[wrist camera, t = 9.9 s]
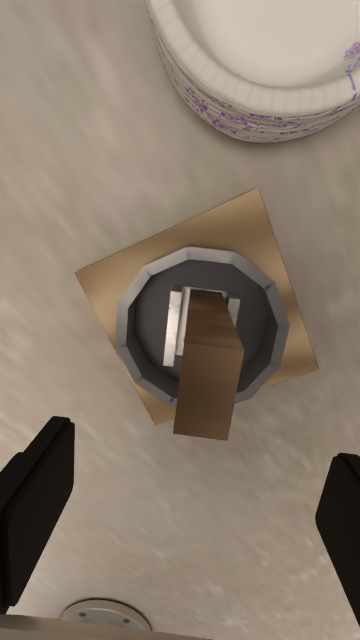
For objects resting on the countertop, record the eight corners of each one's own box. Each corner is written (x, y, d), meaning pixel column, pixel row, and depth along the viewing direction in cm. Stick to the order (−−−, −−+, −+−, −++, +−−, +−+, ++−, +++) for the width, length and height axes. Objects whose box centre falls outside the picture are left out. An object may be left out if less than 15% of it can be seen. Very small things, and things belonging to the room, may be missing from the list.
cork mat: (316, 365, 26) (318, 368, 26) (155, 421, 29) (155, 424, 28) (256, 188, 22) (258, 187, 22) (77, 271, 25) (74, 272, 24)
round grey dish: (289, 256, 23) (305, 260, 20) (259, 395, 27) (267, 419, 23) (131, 237, 23) (120, 238, 20) (123, 378, 27) (112, 398, 24)
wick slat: (221, 292, 24) (244, 350, 12) (213, 343, 25) (227, 440, 13) (190, 288, 24) (184, 343, 12) (184, 340, 25) (173, 433, 13)
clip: (236, 292, 24) (241, 299, 21) (225, 359, 25) (227, 373, 23) (172, 284, 24) (170, 290, 21) (165, 352, 26) (162, 365, 23)
